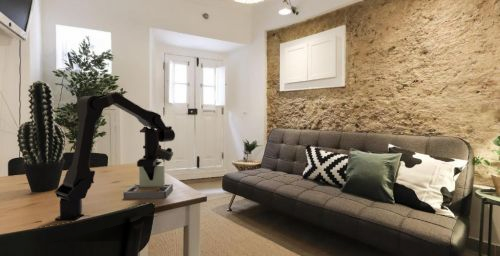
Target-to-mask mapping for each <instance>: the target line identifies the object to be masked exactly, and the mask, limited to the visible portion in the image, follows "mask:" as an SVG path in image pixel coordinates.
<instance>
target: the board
mask: <svg viewBox="0 0 500 256" xmlns="http://www.w3.org/2000/svg"><path fill="white" fill-rule="evenodd" d="M165 170H166V169H165V164H164V165H163V164H162V165H161V164H159V165H157V166H156V167H155V170H154V177H153V180H150V179H149V177H148V175H147V173H146V171H145V170H144V168H143V167H138V173H139V176H138V177H139V178H138V180H139V184H138V185H139V187H159V186H165V183H166V182H165V181H166V180H165V179H166V178H165V176H166V174H165Z"/></svg>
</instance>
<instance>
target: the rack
mask: <svg viewBox="0 0 500 256" xmlns="http://www.w3.org/2000/svg"><path fill="white" fill-rule="evenodd" d="M137 188H160V190H162V191H156V192H133V191H134V190H135V189H137ZM173 189H174V185H173V183H169V184H168V183H167V184H165V186H159V187H139V184H134V185H132V186H131V187H129V188H128V189H126V190H125V191H123V199H125V200H126V199H128V200H129V199H130V200H131V199H133V200H134V199H166V198H167V197H168V196H170V194H171V192H172V191H173Z"/></svg>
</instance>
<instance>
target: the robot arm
mask: <svg viewBox="0 0 500 256" xmlns="http://www.w3.org/2000/svg"><path fill="white" fill-rule="evenodd" d="M110 106H115V107H116V108H118V109H120V110H122V111H124V112H126V113H127V114H130V115H131V116H133V117H135V118H136V119H137V120H138V122H139V123H140V124H142V125H143V128H142V129H140V130H139V133H144V145H143V146H142V148H143V149H144V155H143V157H142V158H140V159H138V160H137V161H136V167H138V168H139V167H143V168H144V170H145V171H146V173H147V175H148V177H149V179H150V180H153V177H154V170H155V167H156V166H157V165H161V164H162V161H164V160H165V161H166V162H170V161H171V159H172V157H173V156H174V151H173V149H172V148H170V147H168V148H166V149H165V148H162V145H161V144H160V143H166V142H172V141H174V140H175V137H176V133H175V131H174V129H172V128H173V127H172V126H171V125H170V126H169V125H168V126H166V124H165V123H164V120H162V119H163V118H162V116H161V114H159V113H157V112H155V111H151V110H147V109H145V108H143V107H141V105H138V104H136V103H135V102H133V101H132V100H130V99H129V98H127V97H124V96H123V95H122V94H120V92H118V91H115V92H114V91H113V92H107V93H105V94H101V95H85V96H81V97H80V98H78V99H77V101H76V114H77V118H78V121H79V122H78V129H77V134H76V141H75V146H74V152H73V157H72V158H73V159H72V163H71V165H70V167H69V168H68V169H67V171H66V173H65V175H64V177H63V181H62V183H61V184H60V185H59V186H58V188H57V189H56V190H55V191H54V194H55V197H57V198H59V199H60V200H59V215H58V216H57V217H54V220H55V221H72V220H73V221H75V220H78V219H80V218H81V217H83V215H85V214H84V213H83V199H86V197H87V194H88V191H89V190H90V189H91V187H92V184H94V183H95V182H94V178H95V175H96V171H95V170H92V169H91V167H90V160H91V155H92V148H93V142H94V135H95V132H96V131H95V130H96V123H97V122H98V121H99V119H100V118H101V116H102V114H103V111H104V109H105V108H108V107H110ZM159 160H161V161H159Z"/></svg>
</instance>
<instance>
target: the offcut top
mask: <svg viewBox="0 0 500 256" xmlns="http://www.w3.org/2000/svg"><path fill="white" fill-rule="evenodd" d="M156 191H160V188H137V189H135V190H134V191H133V192H156Z"/></svg>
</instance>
